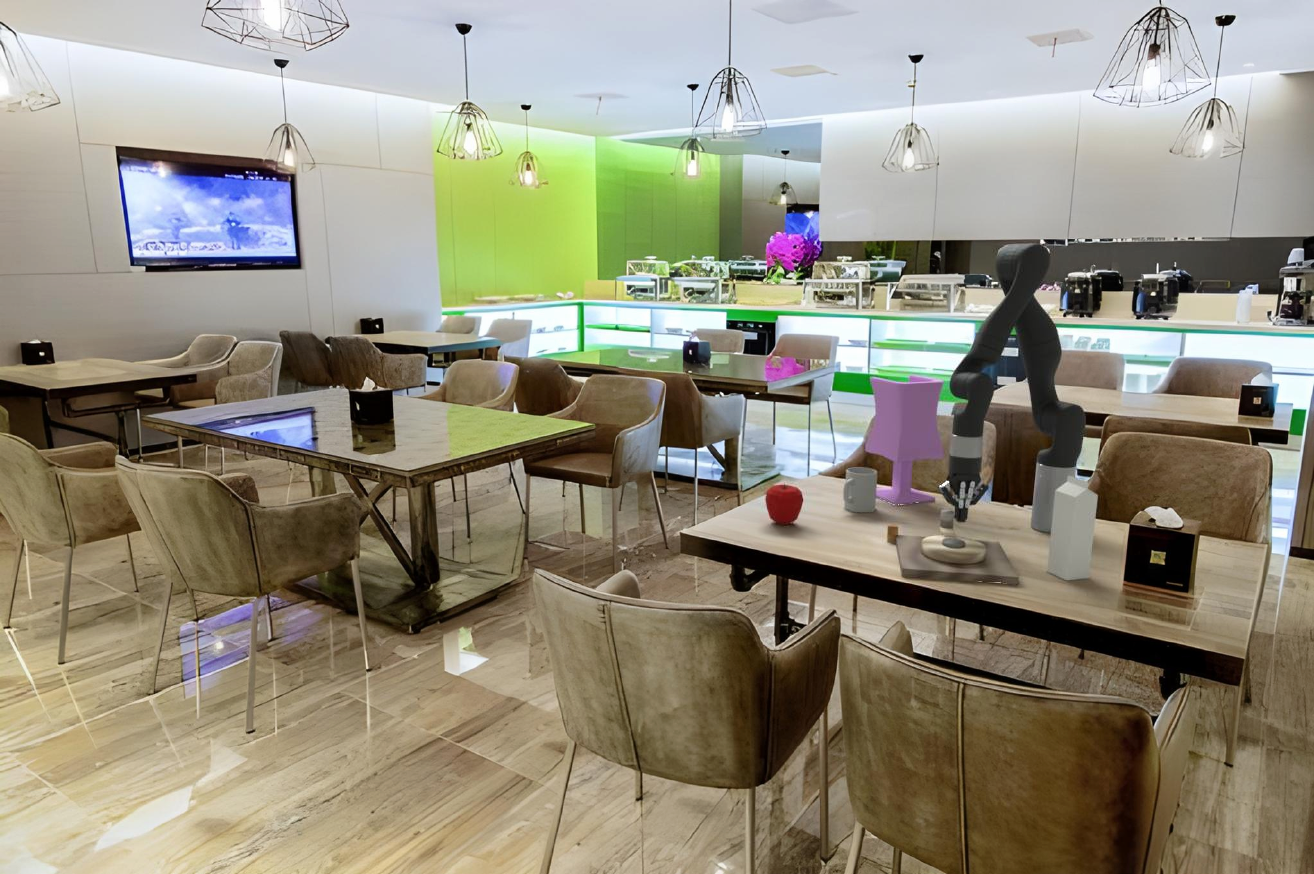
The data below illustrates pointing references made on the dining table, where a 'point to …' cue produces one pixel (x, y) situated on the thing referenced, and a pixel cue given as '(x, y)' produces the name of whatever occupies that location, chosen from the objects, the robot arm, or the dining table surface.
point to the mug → (860, 489)
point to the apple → (784, 503)
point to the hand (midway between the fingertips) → (960, 521)
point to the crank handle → (952, 544)
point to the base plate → (922, 566)
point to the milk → (1072, 530)
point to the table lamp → (905, 431)
